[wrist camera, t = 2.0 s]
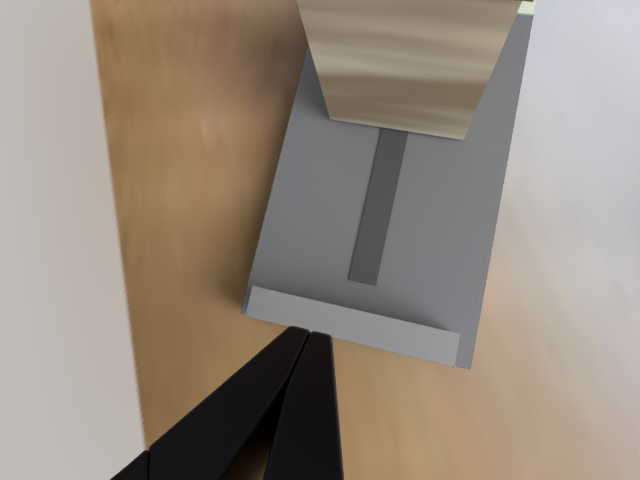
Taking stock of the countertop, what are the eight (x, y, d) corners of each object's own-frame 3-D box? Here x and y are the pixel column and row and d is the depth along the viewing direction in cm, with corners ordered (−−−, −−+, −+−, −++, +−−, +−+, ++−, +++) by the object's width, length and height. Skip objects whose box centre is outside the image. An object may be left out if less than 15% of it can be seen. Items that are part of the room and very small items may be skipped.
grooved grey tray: (462, 365, 20) (482, 377, 16) (253, 314, 22) (220, 312, 18) (539, -63, 23) (574, -151, 19) (350, -77, 25) (342, -159, 21)
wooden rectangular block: (467, 145, 19) (547, -31, 10) (325, 122, 21) (268, -54, 11) (481, 73, 20) (570, -162, 10) (341, 55, 21) (301, -171, 11)
